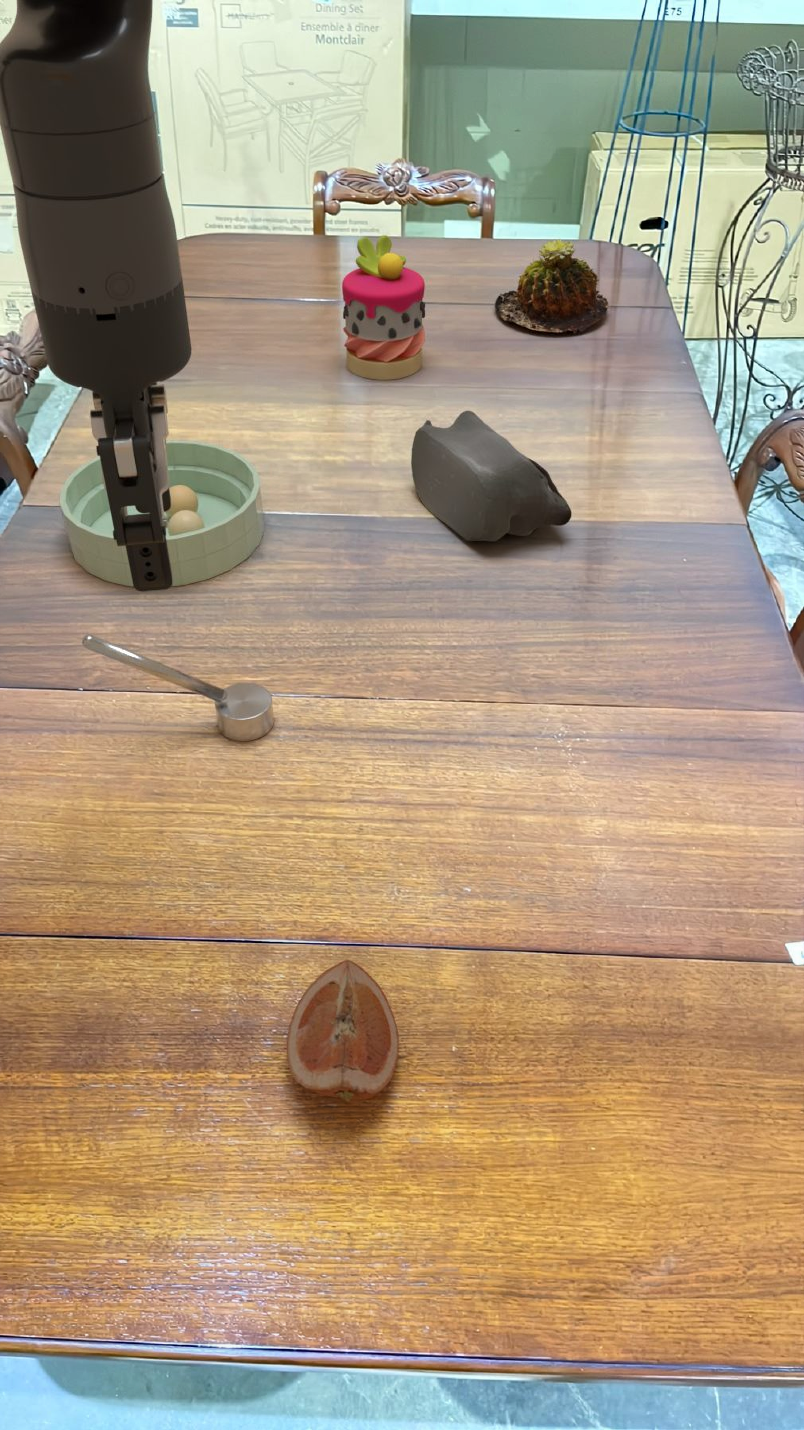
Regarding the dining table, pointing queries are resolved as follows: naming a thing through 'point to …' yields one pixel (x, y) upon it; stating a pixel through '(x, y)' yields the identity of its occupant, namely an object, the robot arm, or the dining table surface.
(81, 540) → the bowl
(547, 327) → the cactus
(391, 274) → the cake
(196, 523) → the dumpling
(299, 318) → the dining table surface
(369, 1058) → the fruit slice
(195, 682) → the ladle
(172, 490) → the dumpling
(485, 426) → the rock
